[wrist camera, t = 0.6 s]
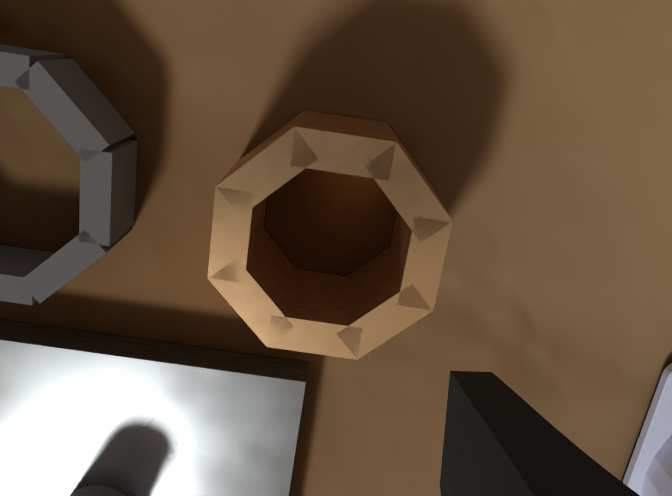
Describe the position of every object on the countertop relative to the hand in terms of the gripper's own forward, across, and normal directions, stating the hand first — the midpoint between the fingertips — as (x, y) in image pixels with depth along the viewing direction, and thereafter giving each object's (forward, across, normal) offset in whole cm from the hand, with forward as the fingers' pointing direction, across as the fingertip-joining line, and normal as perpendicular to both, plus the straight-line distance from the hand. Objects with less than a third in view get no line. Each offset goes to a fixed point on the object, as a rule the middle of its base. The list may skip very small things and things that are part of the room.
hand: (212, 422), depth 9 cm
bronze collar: (+9, -2, -1) cm, 10 cm away
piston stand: (+9, +6, +9) cm, 15 cm away
